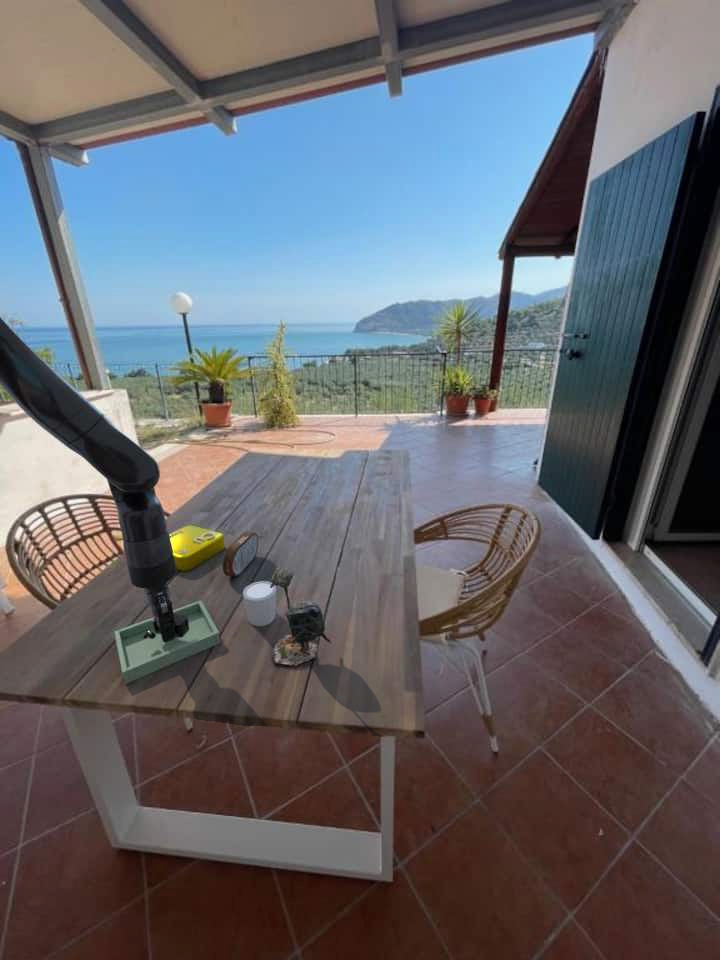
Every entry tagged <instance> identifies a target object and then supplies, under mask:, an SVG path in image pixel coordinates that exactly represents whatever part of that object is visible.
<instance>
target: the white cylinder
mask: <svg viewBox="0 0 720 960" xmlns="http://www.w3.org/2000/svg"><path fill="white" fill-rule="evenodd" d="M271 584H272V581H266V580H262V581H261V580H260V581H256V582H252V583H250V584H249V585H247V586H245V588H244V590H242V596H243V601H244V605H245V609H246V614H247V618H248V622H249V623H250V625H252V626H255V627H265V626H267V625H270V624H271V623H273V622H274V620H275V619H276V611H277V610H276V609H277V608H276V607H277V585H274V586H273V587H272V588H270V586H271Z"/></svg>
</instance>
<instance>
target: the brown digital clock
mask: <svg viewBox="0 0 720 960" xmlns="http://www.w3.org/2000/svg"><path fill="white" fill-rule="evenodd" d="M258 549H259V536H258V534H257V533H256V532H252V531H249V530H246V531H243V532H242V533H241V534H240V535H239V536H238V537H237V538H236V539H235V540H233V542H232V543H230V544H229V546H228V547H227V549H226V550H225V552H224V555H223V559H222V572H223V574H224V575H225V576H228V577H229V576H230V577H239V576H240V575H241V574H242V573H243V572H244V571H245V570H246V568H247V567H249V565H250V564H251V563H252V562H253V561H254V560H255V558H256V557H257V553H258Z"/></svg>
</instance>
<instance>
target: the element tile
mask: <svg viewBox="0 0 720 960" xmlns="http://www.w3.org/2000/svg"><path fill="white" fill-rule="evenodd" d="M169 536H170V539H171V544H172V549H173V555H174V560H175V565H176V571H177V570H178V571H180V572H188V571H190V570H193V569H195V568H196V567H198V566H199V565H201V564H202V563H204V562H205V561H207V560H209V559H210V558H213V557H214V556H216V555H217V554H219V553H220V552H222V551H223V550H224V549H225V548H226V547H225V545H226V544H225V538H224V534H223V533H222V532H218V531H214V530H211V529H207V528H203V527H200V526H197V525H189V524H188V525H186V526H183V527H182V528H180V529H177V530H175V531H173V532H170V533H169Z"/></svg>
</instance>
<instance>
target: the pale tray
mask: <svg viewBox="0 0 720 960" xmlns="http://www.w3.org/2000/svg"><path fill="white" fill-rule="evenodd" d="M173 614H177V615H183V616H187V617H188V623H189V631H188V632H187V633H186V634H185V635H184V636H183V637H182V638H179V637H175V638H174V639H173V640H170V641H168V642H163V640H162V636H161V634H157V633H155V630H154V625H153V621H152V620H153V619H154V618H155V616H153V617H151V618H148V619H145V620H143V621H140V622H137V623H134V624H131V625H128V626H126V627H122V628H119V629H118V630H115V631H114V637H115V638H114V639H115V643H116V648H117V654H118V658H119V664H120V669H121V673H122V678H123V681H124V684H125V685H127V684H129V683H131V682H133V681H136V680H138V679H141V678H143V677H145V676H147V675H150V674H152V673H154V672H156V671H159V670H161V669H164V668H166V667H168V666H171V665H173V664H176V663H178V662H181V661H182V660H184V659H187V658H190V657H192V656H194V655H196V654H198V653H201V652H204V651H205V650H207V649H210V648H212V647H215V646H217V645H219V644H221V634H220V631H219V629H218V628H217V626H216V624H215V623H214V621H213V619H212V617H211V615H210V613H209V611H208V610H207V608H206V606H205V603H204V602H203V601H202V600H197V601H195V602H192V603H189V604H187V605H183V606H181V607H179V608H176V609H173ZM147 631H151V632H153V633H155V636H156V637H155V638H154V639H150V638H148V637H147V639H144V638H143V637H144V635H146V632H147Z"/></svg>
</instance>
